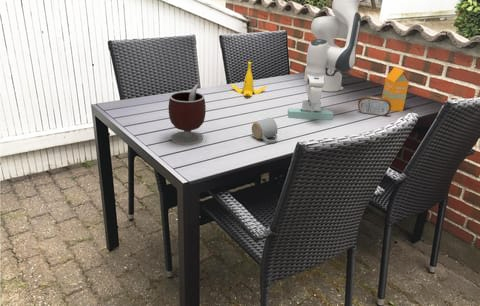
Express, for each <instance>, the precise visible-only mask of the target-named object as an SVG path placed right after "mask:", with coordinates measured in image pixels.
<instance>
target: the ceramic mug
mask: <svg viewBox="0 0 480 306" xmlns="http://www.w3.org/2000/svg"><path fill="white" fill-rule="evenodd" d="M278 130H279V129H278V125H277V123H276V120H274V118H272V117H267V118H264V119H261V120H257V121H255V122H253V123H252V125H251V132H252V135H253V138H255V139H256V140H263V141H264V142H265V143H267V144H275V143H276V142H277V140H278V135H277V134H278V132H279V131H278ZM269 138H275V139H273V140H271V139H269Z"/></svg>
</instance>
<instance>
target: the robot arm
mask: <svg viewBox="0 0 480 306" xmlns="http://www.w3.org/2000/svg"><path fill="white" fill-rule="evenodd" d="M360 2H361V0H333V1H332V2H331V3H332V4H331V10H332V14H333V15H334V16H330V15H329V16H327V15H326V16H323V15H322V16H319V17H315V18H314V19H313V21H312V22H311V24H310V25H311V26H310V31H311V34H312V35H313V36H314V37H315V38H316V39H313V40H311V41H309V45H308V48H307V52H306V57H305V58H306V65H305V70H304V79H303V81H304V82H305V83H306V88H305V89H306V90H305V91H306V95H307V99H308V100H307V101H310V103H311V107H310V111H315V106H316V104H319V102H320V101H321V97H322V92H328V93H329V92H337V91H340V90H344V86H342V80H343V79H342V78H343V75H342V73H347V72H349V71H351V70H352V69H353V68H354V66H355V64H356V59H357V58H356V56H357V49H358V48H357V47H358V43H359V38H360V32H361V24H362V16H361V14H360V13H359V6H360ZM335 39H345V40H346V41H345V45H344V47H340V46H339V45H337V44H335V42H334V41H335Z"/></svg>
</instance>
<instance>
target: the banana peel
mask: <svg viewBox="0 0 480 306" xmlns="http://www.w3.org/2000/svg"><path fill="white" fill-rule="evenodd" d="M230 86H231V87H232V88H233V89H234V91H235V92H236V93H239V94H242V96H243V97H253V95H254V94H255V95H257V94H260V93H262V92H263V91H264V90H265V89H266V88H267V85H265V84H264V85H263V86H262V87H261V88H258V89H254V77H253V73H252V62H251V61H248V62H247V71H246V74H245V77H244V81H243V87H242V88H239V87H238V86H236V85H234V84H233V83H231V85H230Z"/></svg>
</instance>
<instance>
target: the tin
mask: <svg viewBox="0 0 480 306" xmlns="http://www.w3.org/2000/svg"><path fill="white" fill-rule="evenodd" d="M357 108H358V110H359V111H360V112H361V113H362V114H367V115H374V116H379V117H383V116H387V115H388V114H389V113H390V112H391V111H390V109H391V103H390V101H389V100H387V99H385V98H382V97H378V96H372V95H364V96H362V97H360V99H359V100H358V102H357Z"/></svg>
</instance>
